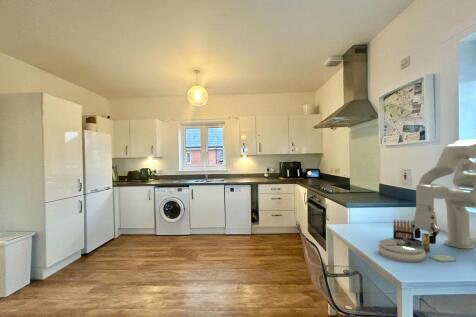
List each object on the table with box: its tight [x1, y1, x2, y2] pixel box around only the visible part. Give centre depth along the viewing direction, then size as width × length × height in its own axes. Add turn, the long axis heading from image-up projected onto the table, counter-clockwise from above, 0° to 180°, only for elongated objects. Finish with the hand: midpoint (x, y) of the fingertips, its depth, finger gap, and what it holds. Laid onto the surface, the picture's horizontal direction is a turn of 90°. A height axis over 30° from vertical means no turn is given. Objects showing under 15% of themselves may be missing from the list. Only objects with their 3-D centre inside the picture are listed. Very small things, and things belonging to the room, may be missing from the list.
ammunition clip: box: [392, 218, 414, 240], centre depth 158 cm, size 11×2×12 cm, turn 58°
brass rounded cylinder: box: [421, 232, 431, 253], centre depth 138 cm, size 3×3×9 cm
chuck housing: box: [378, 243, 427, 264], centre depth 132 cm, size 20×20×3 cm
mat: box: [429, 254, 457, 263], centre depth 126 cm, size 8×6×1 cm
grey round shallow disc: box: [379, 237, 424, 254], centre depth 132 cm, size 19×19×4 cm
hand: (424, 240), depth 138 cm, fingers open, 9 cm apart
